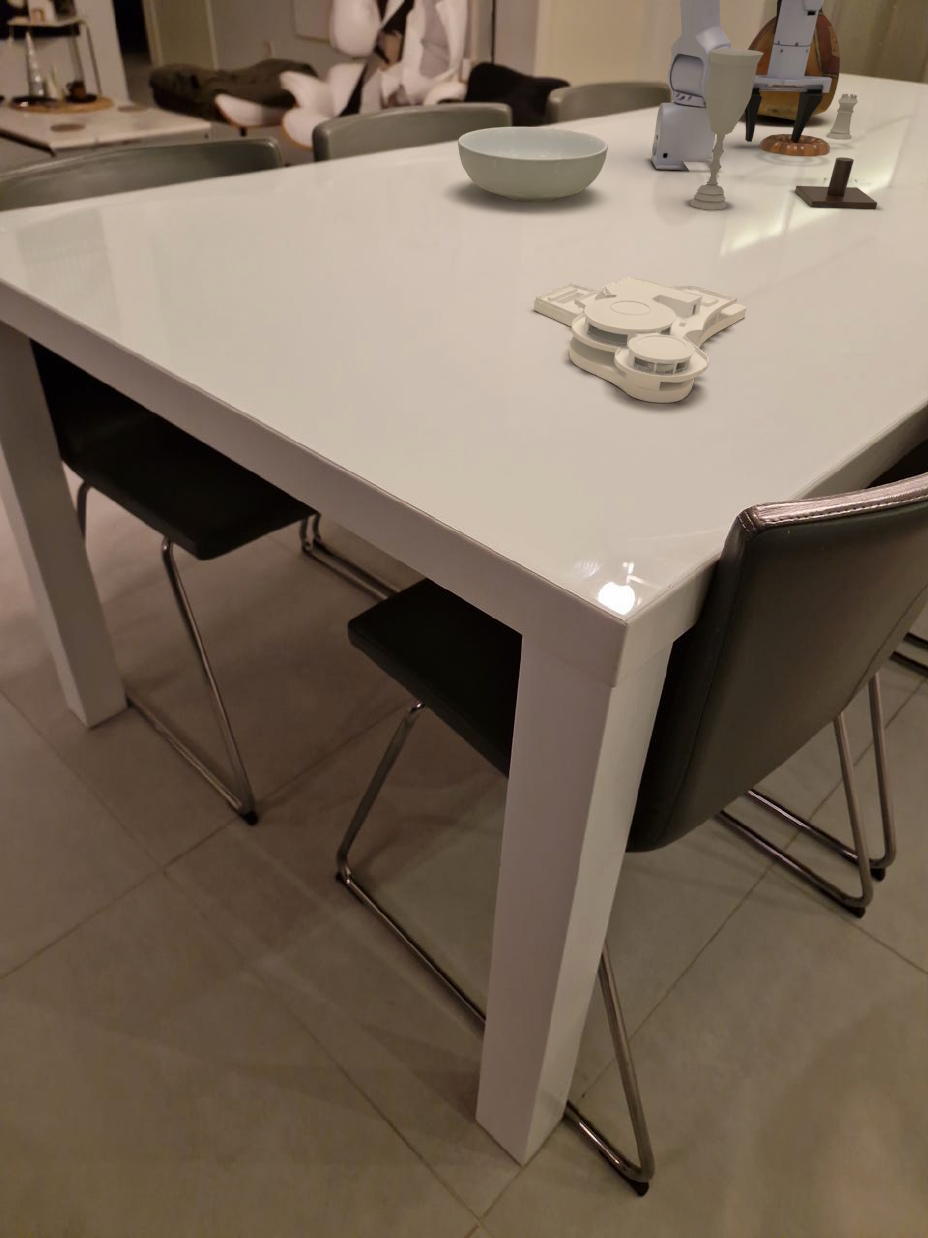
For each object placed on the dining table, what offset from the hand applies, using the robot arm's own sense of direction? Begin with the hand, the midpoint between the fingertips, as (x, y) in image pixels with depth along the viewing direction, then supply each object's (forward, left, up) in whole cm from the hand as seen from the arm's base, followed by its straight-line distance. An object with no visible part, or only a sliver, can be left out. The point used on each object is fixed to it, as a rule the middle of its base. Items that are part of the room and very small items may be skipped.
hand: (771, 141), depth 144 cm
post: (+3, -28, -3) cm, 28 cm away
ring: (+4, 0, -1) cm, 4 cm away
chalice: (-16, -33, -3) cm, 37 cm away
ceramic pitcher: (+11, +39, -3) cm, 41 cm away
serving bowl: (-41, -30, -3) cm, 51 cm away
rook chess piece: (+15, +12, -3) cm, 19 cm away
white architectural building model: (-32, -84, -3) cm, 90 cm away
